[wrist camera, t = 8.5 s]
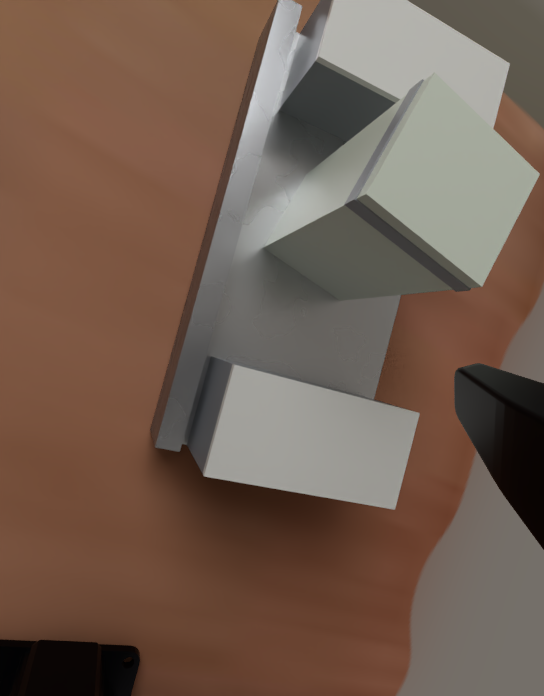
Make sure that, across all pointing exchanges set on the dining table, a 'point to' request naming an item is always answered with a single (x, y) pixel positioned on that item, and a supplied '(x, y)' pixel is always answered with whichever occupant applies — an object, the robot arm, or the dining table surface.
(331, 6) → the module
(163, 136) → the dining table surface
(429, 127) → the block
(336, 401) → the block
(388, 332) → the grey base plate
